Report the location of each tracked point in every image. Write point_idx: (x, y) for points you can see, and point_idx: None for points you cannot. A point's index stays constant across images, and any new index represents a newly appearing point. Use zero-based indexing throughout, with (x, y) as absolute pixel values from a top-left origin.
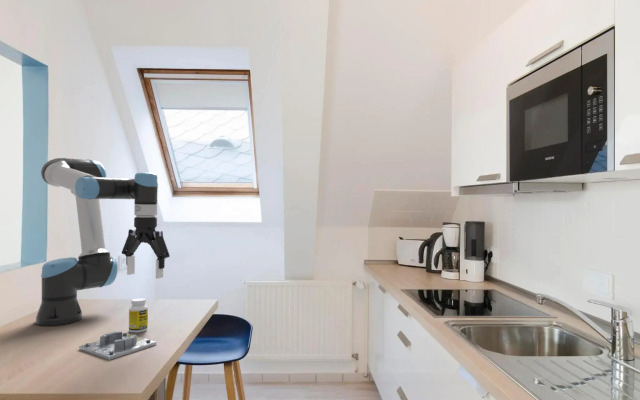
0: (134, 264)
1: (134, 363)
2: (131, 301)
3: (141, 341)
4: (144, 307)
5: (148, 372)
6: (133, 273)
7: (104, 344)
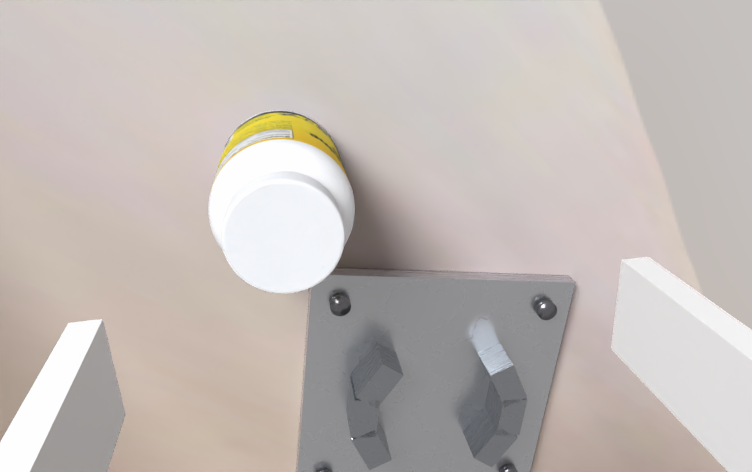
0: (59, 413)
1: (634, 447)
2: (251, 282)
3: (505, 318)
4: (350, 210)
5: None
6: (103, 339)
7: (384, 434)
